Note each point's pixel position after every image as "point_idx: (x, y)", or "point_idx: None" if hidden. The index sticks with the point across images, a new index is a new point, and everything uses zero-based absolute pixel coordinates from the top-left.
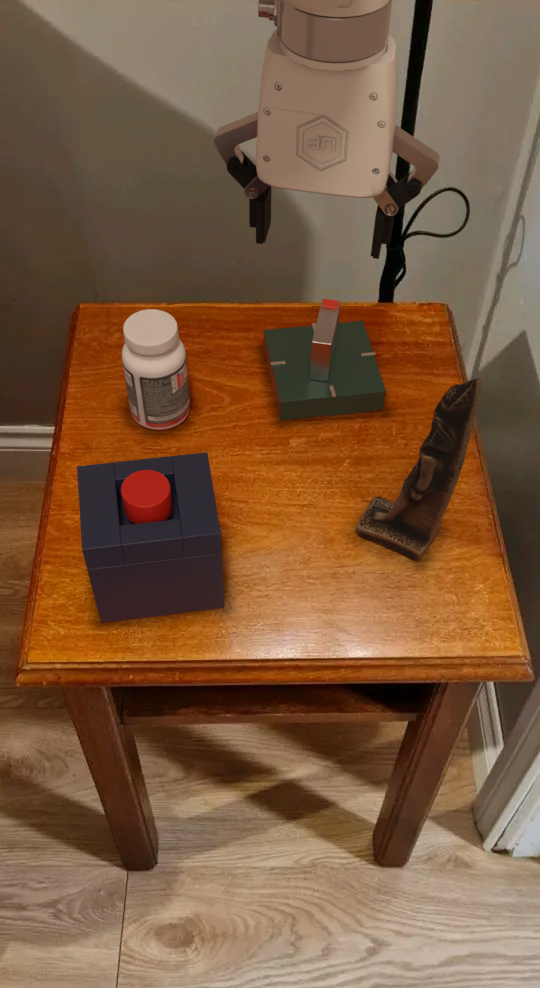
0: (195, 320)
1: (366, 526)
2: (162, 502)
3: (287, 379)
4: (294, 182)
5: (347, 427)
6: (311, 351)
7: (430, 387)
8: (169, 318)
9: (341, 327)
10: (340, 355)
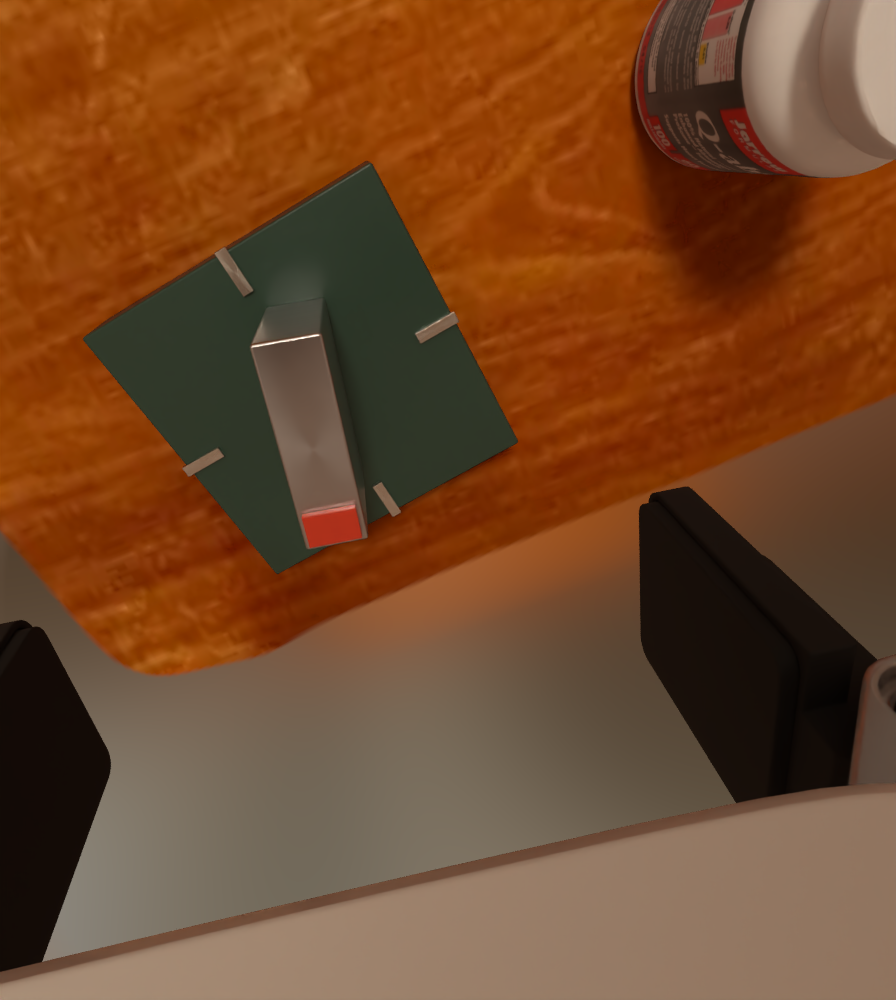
0: (693, 449)
1: None
2: None
3: (386, 272)
4: (670, 931)
5: (169, 212)
6: (320, 322)
7: (29, 455)
8: (893, 113)
9: None
10: None
